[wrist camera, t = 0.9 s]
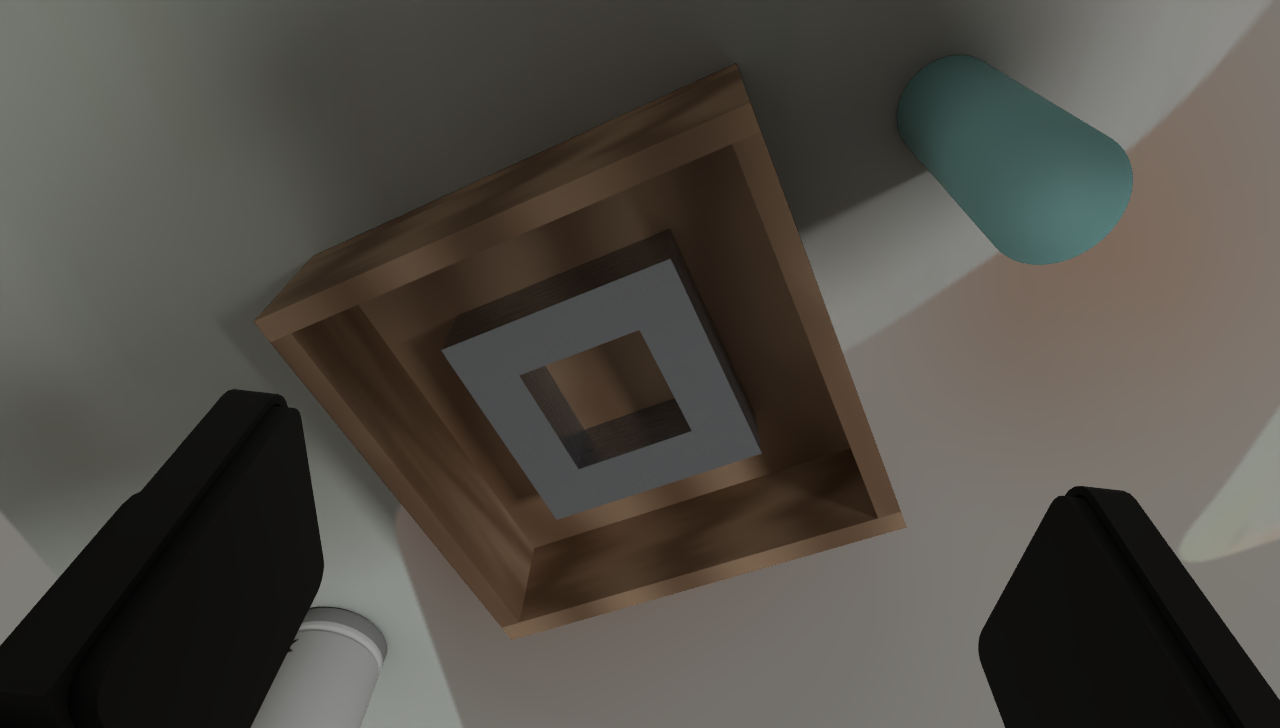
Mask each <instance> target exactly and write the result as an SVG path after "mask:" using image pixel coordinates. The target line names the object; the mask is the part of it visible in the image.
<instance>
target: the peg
mask: <svg viewBox="0 0 1280 728" xmlns="http://www.w3.org/2000/svg"><path fill="white" fill-rule="evenodd" d="M897 125H898V130H899V133H900V136H901V138H902V139H903V141H904V143H905V144H906V145H907V146H908V148H909V149H910V150H911V151H912V152H913V153H914V154H915V156H916V157H917V158H918V159H919V160H920V161H921V162H922V164H923V165H924V166H925V167H926V168H927V169H928V170H929V172H930V173H931V174H932V175H933V176H934V177H935V178H936V180H937V181H938V182H939V183H940V184H941V185H942V186H943V188H944V189H945V190H946V191H947V192H948V193H949V194H950V196H951V197H952V198H953V199H954V200H955V201H956V202H957V204H958V205H959V206H960V207H961V208H962V209H963V210H964V212H965V213H966V214H967V215H968V216H969V217H970V218H971V220H972V221H973V222H974V223H975V224H976V225H977V226H978V227H979V229H980V230H981V231H982V232H983V233H984V234H985V235H986V237H987V238H988V239H989V240H990V241H991V242H992V243H993V245H994V246H995V247H996V248H997V249H998V250H999V251H1000V252H1001V253H1003V254H1004V255H1006V256H1007V257H1009V258H1011V259H1013V260H1015V261H1018V262H1021V263H1026V264H1033V265H1043V264H1052V263H1058V262H1061V261H1065V260H1068V259H1071V258H1073V257H1076V256H1078V255H1080V254H1082V253H1083V252H1085V251H1087V250H1089V249H1090V248H1091V247H1093V246H1095V245H1096V244H1097V243H1098V242H1100V241H1101V240H1102V239H1103V238H1104V237H1105V236H1106V235H1107V234H1108V233H1109V232H1110V231H1111V230H1112V229H1113V228H1114V226H1115V225H1116V224H1117V223H1118V221H1119V220H1120V218H1121V216H1122V215H1123V213H1124V211H1125V209H1126V207H1127V205H1128V202H1129V199H1130V196H1131V192H1132V185H1133V173H1132V168H1131V164H1130V161H1129V158H1128V156H1127V155H1126V153H1125V151H1124V150H1123V149H1122V147H1121V146H1120V145H1119V144H1118V143H1117V142H1115V141H1114V140H1113V139H1111V138H1110V137H1108V136H1106V135H1105V134H1103V133H1101V132H1100V131H1098V130H1096V129H1095V128H1093V127H1091V126H1090V125H1088V124H1087V123H1085V122H1083V121H1082V120H1080V119H1078V118H1077V117H1075V116H1073V115H1072V114H1070V113H1068V112H1067V111H1065V110H1063V109H1062V108H1060V107H1058V106H1057V105H1055V104H1053V103H1052V102H1050V101H1048V100H1047V99H1045V98H1043V97H1042V96H1040V95H1038V94H1037V93H1035V92H1033V91H1032V90H1030V89H1028V88H1027V87H1025V86H1023V85H1022V84H1020V83H1018V82H1017V81H1015V80H1013V79H1012V78H1010V77H1008V76H1007V75H1005V74H1003V73H1002V72H1000V71H998V70H997V69H995V68H993V67H992V66H990V65H988V64H987V63H985V62H983V61H981V60H980V59H977V58H975V57H971V56H966V55H955V56H948V57H944V58H941V59H938V60H936V61H934V62H932V63H930V64H929V65H927V66H926V67H924V68H923V69H922V70H920V71H919V72H918V73H917V74H916V75H915V76H914V77H913V78H912V79H911V81H910V82H909V83H908V85H907V86H906V88H905V90H904V91H903V94H902V96H901V98H900V101H899V104H898V109H897Z"/></svg>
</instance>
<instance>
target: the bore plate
mask: <svg viewBox="0 0 1280 728" xmlns="http://www.w3.org/2000/svg"><path fill="white" fill-rule="evenodd" d="M638 330H640V332H641V334H642V336H643V338H644V340H645V342H646V344H647V345H648V347H649V349H650V351H651V353H652V355H653V357H654V359H655V361H656V363H657V365H658V367H659V369H660V371H661V372H662V374H663V376H664V378H665V380H666V382H667V384H668V386H669V388H670V390H671V392H672V394H673V396H674V398H673V399H670V400H667V401H664V402H662V403H659V404H656V405H653V406H650V407H647V408H645V409H642V410H639V411H636V412H633V413H630V414H628V415H625V416H622V417H619V418H616V419H613V420H610V421H608V422H605V423H602V424H599V425H596V426H593V427H591V428H588V429H585V430H584V428H583V426H582V425H581V423H580V421H579V420H578V418H577V417H576V415H575V413H574V412H573V410H572V408H571V407H570V405H569V403H568V402H567V400H566V398H565V397H564V395H563V394H562V392H561V390H560V389H559V387H558V385H557V384H556V382H555V380H554V379H553V377H552V375H551V374H550V372H549V370H548V369H547V367H546V365H548V364H551V363H554V362H556V361H559V360H561V359H564V358H567V357H569V356H572V355H575V354H577V353H580V352H583V351H585V350H588V349H590V348H593V347H596V346H598V345H601V344H604V343H606V342H609V341H612V340H614V339H617V338H619V337H622V336H625V335H627V334H630V333H633V332H635V331H638ZM441 351H442V353H443V354H444V356H445V357H446V359H447V360H448V362H449V363H450V364H451V366H452V367H453V369H454V370H455V372H456V373H457V375H458V376H459V378H460V379H461V381H462V382H463V384H464V385H465V386H466V388H467V389H468V391H469V392H470V394H471V395H472V397H473V398H474V400H475V401H476V403H477V404H478V405H479V407H480V408H481V410H482V411H483V413H484V414H485V416H486V417H487V419H488V420H489V422H490V423H491V425H492V426H493V427H494V429H495V430H496V432H497V433H498V435H499V436H500V438H501V439H502V441H503V442H504V444H505V445H506V446H507V448H508V449H509V451H510V452H511V454H512V455H513V457H514V458H515V460H516V461H517V463H518V464H519V466H520V467H521V468H522V470H523V471H524V473H525V474H526V476H527V477H528V479H529V480H530V482H531V483H532V485H533V486H534V487H535V489H536V490H537V492H538V493H539V495H540V496H541V498H542V499H543V501H544V502H545V504H546V505H547V507H548V508H549V509H550V511H551V512H552V514H553V515H554V517H555V518H556V520H558V519H561V518H564V517H567V516H570V515H573V514H576V513H580V512H583V511H586V510H589V509H592V508H595V507H598V506H601V505H604V504H607V503H610V502H614V501H617V500H620V499H623V498H626V497H629V496H632V495H635V494H638V493H641V492H645V491H648V490H651V489H654V488H657V487H660V486H663V485H666V484H669V483H672V482H675V481H679V480H682V479H685V478H688V477H691V476H694V475H697V474H700V473H703V472H706V471H710V470H713V469H716V468H719V467H722V466H725V465H728V464H731V463H734V462H737V461H740V460H744V459H747V458H750V457H753V456H756V455H759V454H762V451H761V445H760V439H759V433H758V427H757V421H756V415H755V412H754V410H753V408H752V406H751V403H750V401H749V399H748V397H747V395H746V392H745V390H744V388H743V386H742V384H741V382H740V379H739V377H738V375H737V373H736V371H735V369H734V366H733V364H732V362H731V360H730V358H729V355H728V353H727V351H726V349H725V347H724V345H723V342H722V340H721V338H720V336H719V334H718V331H717V329H716V327H715V325H714V323H713V321H712V318H711V316H710V314H709V312H708V310H707V307H706V305H705V303H704V301H703V299H702V297H701V294H700V292H699V290H698V288H697V286H696V283H695V281H694V279H693V277H692V275H691V273H690V270H689V268H688V266H687V264H686V262H685V259H684V257H683V255H682V253H681V251H680V249H679V246H678V244H677V242H676V240H675V238H674V236H673V233H672V231H671V229H667V230H665V231H662V232H660V233H657V234H655V235H652V236H650V237H648V238H645V239H643V240H640V241H638V242H635V243H633V244H631V245H628V246H626V247H623V248H621V249H618V250H616V251H613V252H611V253H609V254H606V255H604V256H601V257H599V258H596V259H594V260H591V261H589V262H587V263H584V264H582V265H579V266H577V267H574V268H572V269H570V270H567V271H565V272H562V273H560V274H557V275H555V276H552V277H550V278H548V279H545V280H543V281H540V282H538V283H535V284H533V285H530V286H528V287H526V288H523V289H521V290H518V291H516V292H513V293H511V294H509V295H506V296H504V297H501V298H499V299H496V300H494V301H491V302H489V303H487V304H484V305H482V306H479V307H477V308H474V309H472V310H470V311H467V312H465V313H462V314H460V315H457V317H456V319H455V321H454V323H453V326H452V328H451V330H450V332H449V334H448V336H447V338H446V340H445V343H444V345H443V347H442V349H441Z"/></svg>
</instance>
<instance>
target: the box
mask: <svg viewBox="0 0 1280 728" xmlns="http://www.w3.org/2000/svg"><path fill="white" fill-rule="evenodd" d="M667 229H671V231H672V233H673V236H674V238H675V240H676V242H677V244H678V246H679V249H680V251H681V253H682V255H683V257H684V259H685V262H686V264H687V266H688V268H689V270H690V273H691V275H692V277H693V279H694V281H695V283H696V286H697V288H698V290H699V292H700V294H701V297H702V299H703V301H704V303H705V305H706V307H707V310H708V312H709V314H710V316H711V318H712V321H713V323H714V325H715V327H716V329H717V331H718V334H719V336H720V338H721V340H722V342H723V345H724V347H725V349H726V351H727V353H728V355H729V358H730V360H731V362H732V364H733V366H734V369H735V371H736V373H737V375H738V377H739V379H740V382H741V384H742V386H743V388H744V390H745V392H746V395H747V397H748V399H749V401H750V403H751V406H752V408H753V410H754V412H755V415H756V421H757V427H758V433H759V439H760V445H761V451H762V454H759V455H756V456H753V457H750V458H747V459H744V460H740V461H737V462H734V463H731V464H728V465H725V466H722V467H719V468H716V469H713V470H710V471H706V472H703V473H700V474H697V475H694V476H691V477H688V478H685V479H682V480H679V481H675V482H672V483H669V484H666V485H663V486H660V487H657V488H654V489H651V490H648V491H645V492H641V493H638V494H635V495H632V496H629V497H626V498H623V499H620V500H617V501H614V502H610V503H607V504H604V505H601V506H598V507H595V508H592V509H589V510H586V511H583V512H580V513H576V514H573V515H570V516H567V517H564V518H561V519H558V520H556V518H555V517H554V515H553V514H552V512H551V511H550V509H549V508H548V507H547V505H546V504H545V502H544V501H543V499H542V498H541V496H540V495H539V493H538V492H537V490H536V489H535V487H534V486H533V485H532V483H531V482H530V480H529V479H528V477H527V476H526V474H525V473H524V471H523V470H522V468H521V467H520V466H519V464H518V463H517V461H516V460H515V458H514V457H513V455H512V454H511V452H510V451H509V449H508V448H507V446H506V445H505V444H504V442H503V441H502V439H501V438H500V436H499V435H498V433H497V432H496V430H495V429H494V427H493V426H492V425H491V423H490V422H489V420H488V419H487V417H486V416H485V414H484V413H483V411H482V410H481V408H480V407H479V405H478V404H477V403H476V401H475V400H474V398H473V397H472V395H471V394H470V392H469V391H468V389H467V388H466V386H465V385H464V384H463V382H462V381H461V379H460V378H459V376H458V375H457V373H456V372H455V370H454V369H453V367H452V366H451V364H450V363H449V362H448V360H447V359H446V357H445V356H444V354H443V353H442V351H441V349H442V347H443V345H444V343H445V340H446V338H447V336H448V334H449V332H450V330H451V328H452V326H453V323H454V321H455V319H456V317H457V315H460V314H462V313H465V312H467V311H470V310H472V309H474V308H477V307H479V306H482V305H484V304H487V303H489V302H491V301H494V300H496V299H499V298H501V297H504V296H506V295H509V294H511V293H513V292H516V291H518V290H521V289H523V288H526V287H528V286H530V285H533V284H535V283H538V282H540V281H543V280H545V279H548V278H550V277H552V276H555V275H557V274H560V273H562V272H565V271H567V270H570V269H572V268H574V267H577V266H579V265H582V264H584V263H587V262H589V261H591V260H594V259H596V258H599V257H601V256H604V255H606V254H609V253H611V252H613V251H616V250H618V249H621V248H623V247H626V246H628V245H631V244H633V243H635V242H638V241H640V240H643V239H645V238H648V237H650V236H652V235H655V234H657V233H660V232H662V231H665V230H667ZM253 322H254V323H255V324H256V325H257V327H258V328H259V329H260V330H261V332H262V333H263V334H264V335H265V337H266V338H267V339H268V340H269V341H270V343H271V344H272V345H273V346H274V348H275V349H276V350H277V351H278V353H279V354H280V355H281V356H282V357H283V359H284V360H285V361H286V362H287V364H288V365H289V366H290V367H291V369H292V370H293V371H294V372H295V373H296V375H297V376H298V377H299V378H300V380H301V381H302V382H303V383H304V385H305V386H306V387H307V388H308V390H309V391H310V392H311V393H312V394H313V396H314V397H315V398H316V399H317V401H318V402H319V403H320V404H321V406H322V407H323V408H324V409H325V410H326V412H327V413H328V414H329V415H330V417H331V418H332V419H333V420H334V422H335V423H336V424H337V425H338V426H339V428H340V429H341V430H342V431H343V433H344V434H345V435H346V436H347V438H348V439H349V440H350V441H351V442H352V444H353V445H354V446H355V447H356V449H357V450H358V451H359V452H360V454H361V455H362V456H363V457H364V458H365V460H366V461H367V462H368V463H369V465H370V466H371V467H372V468H373V470H374V471H375V472H376V473H377V474H378V476H379V477H380V478H381V479H382V481H383V482H384V483H385V484H386V486H387V487H388V488H389V489H390V490H391V492H392V493H393V494H394V495H395V497H396V498H397V499H398V500H399V502H400V503H401V504H402V505H403V507H404V508H405V509H406V510H407V511H408V513H409V514H410V515H411V516H412V517H413V519H414V520H415V521H416V522H417V524H418V525H419V526H420V527H421V529H422V530H423V531H424V532H425V534H426V535H427V536H428V537H429V539H430V540H431V541H432V542H433V543H434V545H435V546H436V547H437V548H438V550H439V551H440V552H441V553H442V554H443V556H444V557H445V558H446V559H447V561H448V562H449V563H450V564H451V566H452V567H453V568H454V569H455V570H456V572H457V573H458V574H459V575H460V577H461V578H462V579H463V580H464V582H465V583H466V584H467V585H468V587H469V588H470V589H471V590H472V591H473V593H474V594H475V595H476V596H477V597H478V599H479V600H480V601H481V603H482V604H483V605H484V606H485V608H486V609H487V610H488V611H489V612H490V614H491V615H492V616H493V617H494V619H495V620H496V621H497V622H498V624H499V625H500V626H501V627H502V628H503V630H504V631H505V632H506V633H507V634H508V636H509V637H510V638H511V640H513V639H516V638H520V637H524V636H527V635H531V634H534V633H538V632H541V631H545V630H548V629H552V628H555V627H559V626H562V625H566V624H569V623H573V622H576V621H580V620H583V619H587V618H590V617H594V616H597V615H600V614H604V613H608V612H611V611H615V610H618V609H622V608H625V607H629V606H632V605H636V604H639V603H643V602H646V601H650V600H653V599H657V598H660V597H664V596H668V595H671V594H674V593H678V592H681V591H685V590H688V589H692V588H695V587H699V586H702V585H706V584H710V583H713V582H717V581H720V580H724V579H727V578H731V577H734V576H737V575H741V574H745V573H748V572H752V571H755V570H759V569H762V568H765V567H769V566H773V565H776V564H780V563H783V562H787V561H790V560H793V559H797V558H801V557H804V556H808V555H811V554H815V553H818V552H822V551H825V550H828V549H832V548H836V547H839V546H843V545H846V544H850V543H853V542H857V541H860V540H863V539H867V538H871V537H874V536H878V535H881V534H885V533H888V532H892V531H895V530H899V529H902V528H906V524H905V522H904V519H903V516H902V513H901V511H900V508H899V505H898V503H897V500H896V497H895V494H894V492H893V489H892V487H891V483H890V481H889V478H888V475H887V473H886V470H885V467H884V464H883V462H882V459H881V456H880V454H879V451H878V448H877V445H876V443H875V440H874V437H873V434H872V432H871V429H870V426H869V424H868V421H867V418H866V415H865V413H864V410H863V407H862V405H861V402H860V399H859V396H858V394H857V391H856V388H855V385H854V383H853V380H852V377H851V374H850V372H849V369H848V366H847V364H846V361H845V358H844V355H843V353H842V350H841V347H840V345H839V342H838V339H837V336H836V334H835V331H834V328H833V326H832V323H831V320H830V317H829V315H828V312H827V309H826V307H825V304H824V301H823V298H822V296H821V293H820V290H819V287H818V285H817V282H816V279H815V277H814V274H813V271H812V268H811V266H810V263H809V260H808V258H807V255H806V252H805V249H804V247H803V244H802V241H801V239H800V236H799V233H798V230H797V228H796V225H795V222H794V220H793V217H792V214H791V211H790V209H789V206H788V203H787V200H786V198H785V195H784V192H783V190H782V187H781V184H780V181H779V179H778V176H777V173H776V171H775V168H774V165H773V162H772V160H771V157H770V154H769V152H768V149H767V146H766V143H765V141H764V138H763V135H762V133H761V130H760V127H759V124H758V122H757V119H756V116H755V113H754V111H753V108H752V105H751V103H750V100H749V97H748V94H747V92H746V89H745V86H744V84H743V81H742V78H741V75H740V73H739V70H738V67H737V65H736V63H735V64H733V65H731V66H729V67H727V68H724V69H722V70H720V71H718V72H716V73H713V74H711V75H709V76H707V77H705V78H702V79H700V80H698V81H696V82H694V83H691V84H689V85H687V86H685V87H683V88H680V89H678V90H676V91H674V92H672V93H670V94H667V95H665V96H663V97H661V98H659V99H656V100H654V101H652V102H650V103H648V104H645V105H643V106H641V107H639V108H637V109H634V110H632V111H630V112H628V113H626V114H623V115H621V116H619V117H617V118H615V119H612V120H610V121H608V122H606V123H604V124H601V125H599V126H597V127H595V128H593V129H591V130H588V131H586V132H584V133H582V134H580V135H577V136H575V137H573V138H571V139H569V140H566V141H564V142H562V143H560V144H558V145H555V146H553V147H551V148H549V149H547V150H544V151H542V152H540V153H538V154H536V155H533V156H531V157H529V158H527V159H525V160H523V161H520V162H518V163H516V164H514V165H512V166H509V167H507V168H505V169H503V170H501V171H498V172H496V173H494V174H492V175H490V176H487V177H485V178H483V179H481V180H479V181H476V182H474V183H472V184H470V185H468V186H465V187H463V188H461V189H459V190H457V191H454V192H452V193H450V194H448V195H446V196H444V197H441V198H439V199H437V200H435V201H433V202H430V203H428V204H426V205H424V206H422V207H419V208H417V209H415V210H413V211H411V212H408V213H406V214H404V215H402V216H400V217H397V218H395V219H393V220H391V221H389V222H386V223H384V224H382V225H380V226H378V227H376V228H373V229H371V230H369V231H367V232H365V233H362V234H360V235H358V236H356V237H354V238H351V239H349V240H347V241H345V242H343V243H340V244H338V245H336V246H334V247H332V248H329V249H327V250H325V251H323V252H321V253H318V254H316V255H314V256H313V257H312V258H311V259H310V260H309V261H308V262H307V264H306V265H305V266H304V267H303V268H302V269H301V270H300V271H299V272H298V273H297V274H296V276H295V277H294V278H293V279H292V280H291V281H290V282H289V283H288V284H287V285H286V286H285V288H284V289H283V290H282V291H281V292H280V293H279V294H278V295H277V296H276V297H275V299H274V300H273V301H272V302H271V303H270V304H269V305H268V306H267V307H266V308H265V309H264V311H263V312H262V313H261V314H260V315H259V316H258V317H257V318H256V319H255V320H254V321H253ZM546 367H547V369H548V370H549V372H550V374H551V375H552V377H553V379H554V380H555V382H556V384H557V385H558V387H559V389H560V390H561V392H562V394H563V395H564V397H565V398H566V400H567V402H568V403H569V405H570V407H571V408H572V410H573V412H574V413H575V415H576V417H577V418H578V420H579V421H580V423H581V425H582V426H583V428H584V430H585V429H588V428H591V427H593V426H596V425H599V424H602V423H605V422H608V421H610V420H613V419H616V418H619V417H622V416H625V415H628V414H630V413H633V412H636V411H639V410H642V409H645V408H647V407H650V406H653V405H656V404H659V403H662V402H664V401H667V400H670V399H673V398H674V396H673V394H672V392H671V390H670V388H669V386H668V384H667V382H666V380H665V378H664V376H663V374H662V372H661V371H660V369H659V367H658V365H657V363H656V361H655V359H654V357H653V355H652V353H651V351H650V349H649V347H648V345H647V344H646V342H645V340H644V338H643V336H642V334H641V332H640V330H638V331H635V332H633V333H630V334H627V335H625V336H622V337H619V338H617V339H614V340H612V341H609V342H606V343H604V344H601V345H598V346H596V347H593V348H590V349H588V350H585V351H583V352H580V353H577V354H575V355H572V356H569V357H567V358H564V359H561V360H559V361H556V362H554V363H551V364H548V365H546Z"/></svg>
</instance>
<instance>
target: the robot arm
mask: <svg viewBox="0 0 1280 728" xmlns="http://www.w3.org/2000/svg"><path fill="white" fill-rule="evenodd" d="M323 570H324V559H323V553H322V546H321V540H320V534H319V528H318V521H317V515H316V509H315V502H314V496H313V490H312V483H311V477H310V471H309V464H308V458H307V452H306V445H305V439H304V433H303V427H302V420H301V416H300V413H299V411H298V410H297V409H295V408H288V406H287V403H286V400H285V399H284V397H283V396H281V395H279V394H271V393H263V392H254V391H245V390H236V389H233V390H229V391H227V392H226V393H225V394H224V395H222V397H221V398H220V399H219V400H218V401H217V402H216V404H215V405H214V406H213V407H212V408H211V410H210V411H209V412H208V413H207V414H206V415H205V417H204V418H203V419H202V420H201V421H200V422H199V424H198V425H197V426H196V427H195V428H194V429H193V431H192V432H191V433H190V434H189V435H188V437H187V438H186V439H185V440H184V441H183V442H182V444H181V445H180V446H179V447H178V448H177V449H176V451H175V452H174V453H173V454H172V455H171V457H170V458H169V459H168V460H167V461H166V462H165V464H164V465H163V466H162V467H161V468H160V469H159V471H158V472H157V473H156V474H155V475H154V477H153V478H152V479H151V480H150V481H149V482H148V484H147V485H146V486H145V487H144V488H143V489H142V491H141V492H139V493H137V494H134V495H132V496H131V497H130V498H129V499H128V500H127V501H126V502H125V503H124V504H122V505H121V506H120V508H119V509H118V510H117V511H116V512H115V513H114V515H113V516H112V517H111V518H110V519H109V520H108V522H107V523H106V524H105V525H104V526H103V527H102V529H101V530H100V531H99V532H98V533H97V534H96V535H95V537H94V538H93V539H92V540H91V541H90V542H89V544H88V545H87V546H86V547H85V548H84V549H83V551H82V552H81V553H80V554H79V555H78V556H77V558H76V559H75V560H74V561H73V562H72V563H71V564H70V566H69V567H68V568H67V569H66V570H65V571H64V573H63V574H62V575H61V576H60V577H59V578H58V580H57V581H56V582H55V583H54V585H52V587H51V588H50V589H49V590H48V591H47V592H46V593H45V595H44V596H43V597H42V598H41V599H40V600H39V602H38V603H37V604H36V605H35V606H34V607H33V609H32V610H31V611H30V612H29V613H28V614H27V616H26V617H25V618H24V619H23V620H22V621H21V622H20V624H19V625H18V626H17V627H16V628H15V630H14V631H13V632H12V633H11V634H10V635H9V636H8V638H7V639H6V640H5V641H4V642H3V644H1V646H0V728H251V726H252V724H253V722H254V720H255V718H256V716H257V714H258V712H259V710H260V708H261V706H262V704H263V702H264V700H265V698H266V695H267V693H268V691H269V689H270V687H271V685H272V683H273V681H274V679H275V677H276V675H277V673H278V671H279V669H280V667H281V665H282V663H283V661H284V659H285V657H286V655H287V653H288V651H289V649H290V647H291V645H292V643H293V641H294V639H295V637H296V635H297V633H298V630H299V628H300V626H301V624H302V622H303V620H304V618H305V616H306V614H307V612H308V610H309V608H310V606H311V604H312V602H313V600H314V598H315V596H316V594H317V592H318V589H319V587H320V584H321V581H322V576H323ZM978 647H979V649H978V650H979V657H980V661H981V664H982V667H983V670H984V672H985V675H986V678H987V680H988V683H989V686H990V688H991V690H992V694H993V696H994V699H995V702H996V704H997V707H998V709H999V712H1000V715H1001V717H1002V720H1003V723H1004V725H1005V728H1280V700H1279V699H1278V697H1277V696H1276V694H1275V693H1274V692H1273V690H1272V689H1271V687H1270V686H1269V685H1268V683H1267V682H1266V680H1265V679H1264V678H1263V676H1262V675H1261V673H1260V672H1259V671H1258V669H1257V668H1256V666H1255V665H1254V664H1253V662H1252V661H1251V660H1250V658H1249V657H1248V655H1247V654H1246V653H1245V651H1244V650H1243V648H1242V647H1241V646H1240V644H1239V643H1238V642H1237V640H1236V639H1235V637H1234V636H1233V635H1232V633H1231V632H1230V630H1229V629H1228V627H1227V626H1226V625H1225V623H1224V622H1223V620H1222V619H1221V618H1220V616H1219V615H1218V613H1217V612H1216V611H1215V609H1214V608H1213V606H1212V605H1211V604H1210V602H1209V601H1208V599H1207V598H1206V597H1205V595H1204V594H1203V592H1202V591H1201V590H1200V588H1199V587H1198V586H1197V584H1196V583H1195V581H1194V580H1193V579H1192V577H1191V576H1190V575H1189V573H1188V572H1187V570H1186V569H1185V568H1184V566H1183V565H1182V563H1181V562H1180V560H1179V559H1178V558H1177V556H1176V555H1175V553H1174V552H1173V551H1172V549H1171V548H1170V547H1169V545H1168V544H1167V542H1166V541H1165V539H1164V538H1163V537H1162V536H1161V534H1160V532H1159V531H1158V530H1157V529H1156V527H1155V526H1154V524H1153V523H1152V521H1151V520H1150V519H1149V517H1148V516H1147V514H1146V513H1145V512H1144V510H1143V509H1142V507H1141V506H1140V505H1139V503H1138V502H1137V500H1136V499H1135V498H1134V497H1133V496H1132V495H1131V494H1129V493H1127V492H1125V491H1120V490H1111V489H1101V488H1093V487H1084V486H1076V487H1073V488H1072V489H1070V490H1069V491H1068V492H1067V494H1066V495H1065V496H1058V497H1057V498H1055V499H1054V501H1053V502H1052V503H1051V505H1050V507H1049V509H1048V510H1047V512H1046V514H1045V516H1044V518H1043V519H1042V521H1041V523H1040V525H1039V527H1038V529H1037V531H1036V532H1035V535H1034V536H1033V538H1032V540H1031V541H1030V543H1029V545H1028V547H1027V549H1026V551H1025V552H1024V554H1023V556H1022V558H1021V560H1020V562H1019V564H1018V565H1017V568H1016V569H1015V571H1014V573H1013V575H1012V576H1011V578H1010V580H1009V582H1008V584H1007V585H1006V587H1005V589H1004V591H1003V593H1002V595H1001V596H1000V598H999V600H998V602H997V604H996V606H995V607H994V609H993V611H992V613H991V615H990V617H989V618H988V620H987V622H986V624H985V626H984V628H983V629H982V631H981V634H980V637H979V646H978Z"/></svg>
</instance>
